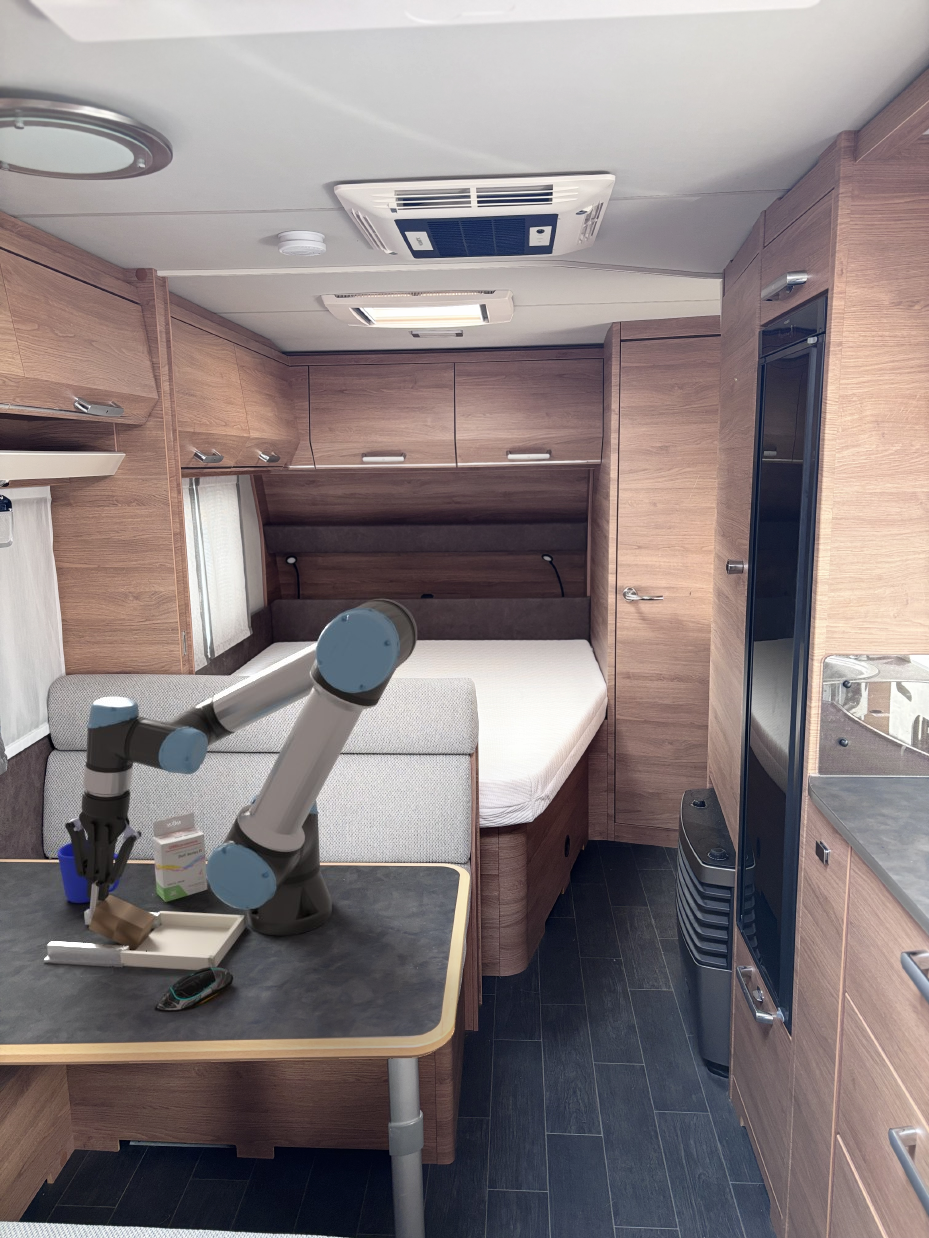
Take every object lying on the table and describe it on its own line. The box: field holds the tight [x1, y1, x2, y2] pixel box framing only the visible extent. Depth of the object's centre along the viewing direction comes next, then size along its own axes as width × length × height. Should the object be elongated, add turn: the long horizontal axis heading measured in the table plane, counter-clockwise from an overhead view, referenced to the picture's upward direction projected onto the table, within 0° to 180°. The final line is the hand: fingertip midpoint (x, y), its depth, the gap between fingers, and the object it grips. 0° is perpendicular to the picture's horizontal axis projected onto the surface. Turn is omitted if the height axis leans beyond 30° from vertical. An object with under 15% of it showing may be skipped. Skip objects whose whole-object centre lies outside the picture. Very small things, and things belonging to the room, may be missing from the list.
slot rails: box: [43, 908, 162, 968], centre depth 154 cm, size 14×15×2 cm
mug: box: [57, 839, 121, 904], centre depth 169 cm, size 8×12×10 cm
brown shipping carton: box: [88, 894, 133, 941], centre depth 153 cm, size 4×4×4 cm
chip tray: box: [120, 910, 247, 971], centre depth 152 cm, size 16×14×2 cm
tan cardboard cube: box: [111, 904, 156, 951], centre depth 153 cm, size 4×4×4 cm
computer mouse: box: [154, 966, 234, 1013], centre depth 137 cm, size 6×12×4 cm, turn 123°
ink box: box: [152, 812, 208, 903], centre depth 171 cm, size 9×5×15 cm, turn 127°
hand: (95, 915), depth 153 cm, fingers closed
